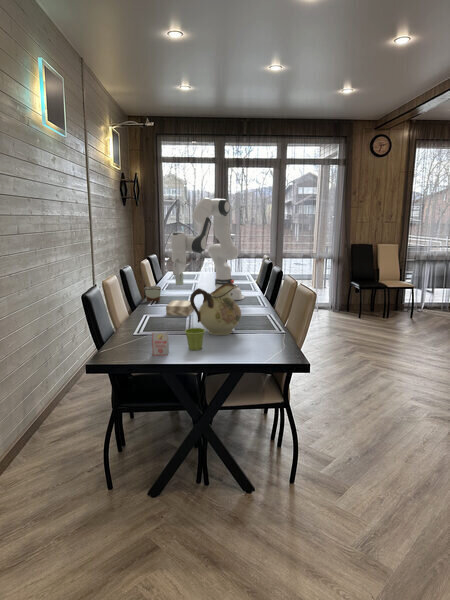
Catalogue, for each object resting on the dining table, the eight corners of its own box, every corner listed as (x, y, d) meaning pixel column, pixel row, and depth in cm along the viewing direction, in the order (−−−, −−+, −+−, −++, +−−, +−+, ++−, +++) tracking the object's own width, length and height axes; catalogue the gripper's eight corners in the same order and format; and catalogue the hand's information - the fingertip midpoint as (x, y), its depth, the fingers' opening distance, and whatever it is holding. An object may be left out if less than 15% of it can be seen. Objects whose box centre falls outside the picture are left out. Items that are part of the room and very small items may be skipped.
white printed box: (154, 352, 190) (153, 331, 188) (168, 352, 190) (168, 331, 188) (152, 355, 187) (151, 333, 184) (167, 355, 187) (167, 333, 184)
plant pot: (181, 350, 193) (180, 332, 191) (191, 344, 202) (190, 326, 200) (199, 352, 189) (199, 334, 188) (208, 346, 198) (208, 329, 196)
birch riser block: (194, 310, 272) (193, 300, 271) (188, 316, 256) (188, 306, 255) (172, 309, 274) (172, 300, 272) (166, 315, 258) (166, 306, 257)
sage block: (183, 284, 263) (183, 273, 261) (182, 285, 259) (181, 274, 258) (177, 284, 263) (176, 272, 262) (175, 285, 260) (175, 273, 258)
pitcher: (248, 329, 226) (248, 283, 221) (228, 341, 206) (227, 291, 200) (212, 324, 236) (211, 280, 231) (189, 335, 216) (187, 288, 211)
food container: (163, 299, 301) (163, 286, 299) (161, 301, 295) (161, 287, 293) (147, 299, 302) (146, 285, 300) (144, 301, 297) (143, 287, 294)
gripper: (180, 260, 247) (181, 283, 250) (187, 256, 267) (187, 277, 270) (169, 260, 248) (170, 283, 251) (177, 256, 268) (178, 277, 271)
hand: (179, 280), depth 261 cm, fingers closed on sage block, 4 cm apart
